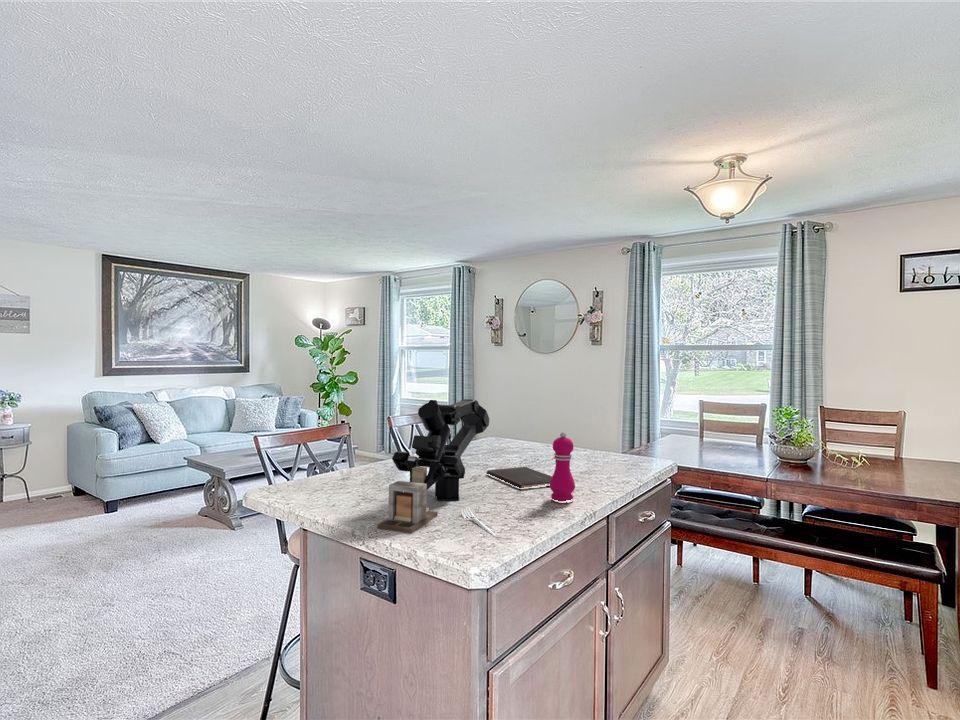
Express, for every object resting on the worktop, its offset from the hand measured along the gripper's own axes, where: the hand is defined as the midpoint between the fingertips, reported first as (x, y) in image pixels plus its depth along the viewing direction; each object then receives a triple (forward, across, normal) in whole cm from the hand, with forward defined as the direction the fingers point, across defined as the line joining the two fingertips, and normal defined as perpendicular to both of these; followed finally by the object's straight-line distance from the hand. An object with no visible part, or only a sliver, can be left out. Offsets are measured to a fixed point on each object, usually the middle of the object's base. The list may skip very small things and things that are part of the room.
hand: (416, 491), depth 131 cm
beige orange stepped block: (+6, 0, +2) cm, 6 cm away
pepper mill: (-17, +32, +26) cm, 44 cm away
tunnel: (+8, 0, +1) cm, 8 cm away
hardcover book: (-31, +14, +41) cm, 54 cm away
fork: (+5, +17, +6) cm, 19 cm away
